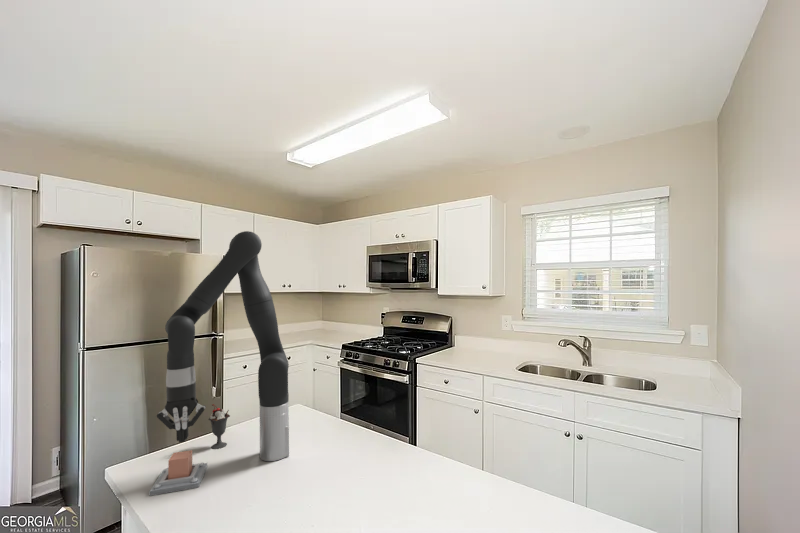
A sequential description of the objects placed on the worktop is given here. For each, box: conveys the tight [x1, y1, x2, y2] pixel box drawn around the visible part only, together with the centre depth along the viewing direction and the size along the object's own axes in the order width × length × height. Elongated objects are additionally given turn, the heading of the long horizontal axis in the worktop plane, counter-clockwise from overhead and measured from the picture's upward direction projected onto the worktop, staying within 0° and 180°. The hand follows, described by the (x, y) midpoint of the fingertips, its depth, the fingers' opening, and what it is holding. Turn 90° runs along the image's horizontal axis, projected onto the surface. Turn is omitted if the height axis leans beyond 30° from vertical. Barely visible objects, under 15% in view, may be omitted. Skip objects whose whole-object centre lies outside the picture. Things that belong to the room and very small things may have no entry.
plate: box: [149, 462, 208, 496], centre depth 107 cm, size 12×12×2 cm
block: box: [167, 449, 193, 480], centre depth 107 cm, size 5×5×6 cm
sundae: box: [208, 403, 231, 450], centre depth 129 cm, size 7×7×15 cm
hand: (182, 441), depth 108 cm, fingers closed
